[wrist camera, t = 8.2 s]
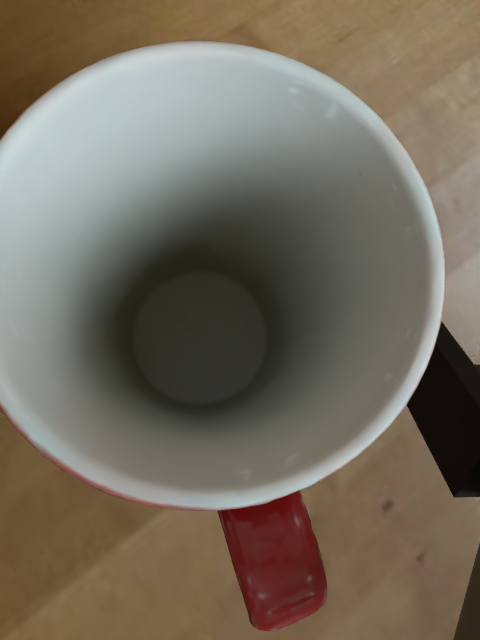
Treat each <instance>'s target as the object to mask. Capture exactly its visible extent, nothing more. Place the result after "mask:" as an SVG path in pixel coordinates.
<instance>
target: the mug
mask: <svg viewBox="0 0 480 640" xmlns="http://www.w3.org/2000/svg"><path fill="white" fill-rule="evenodd" d="M444 295H445V260H444V250H443V242H442V234H441V230H440V226H439V223H438V219H437V215H436V212H435V209H434V206H433V203H432V201H431V198H430V195H429V192H428V190H427V188H426V186H425V183H424V181H423V179H422V177H421V175H420V173H419V171H418V169H417V167H416V165H415V164H414V162H413V161H412V159H411V157H410V156H409V154H408V153H407V151H406V150H405V148H404V147H403V145H402V144H401V142H400V141H399V139H398V138H397V137H396V135H395V134H394V133H393V132H392V130H391V129H390V128H389V127H388V125H387V124H386V123H385V122H384V121H383V120H382V119H381V118H380V117H379V116H378V115H377V114H376V113H375V112H374V111H373V110H372V109H371V108H370V107H369V106H368V105H367V104H366V103H365V102H363V101H362V100H361V99H360V98H359V97H357V96H356V95H355V94H354V93H353V92H351V91H350V90H348V89H347V88H345V87H344V86H343V85H341V84H340V83H338V82H337V81H336V80H334V79H332V78H330V77H328V76H326V75H325V74H323V73H322V72H320V71H318V70H316V69H314V68H312V67H310V66H308V65H305V64H303V63H301V62H299V61H296V60H294V59H292V58H289V57H287V56H284V55H281V54H278V53H275V52H272V51H268V50H264V49H261V48H257V47H253V46H248V45H243V44H238V43H231V42H221V41H210V40H184V41H176V42H168V43H159V44H154V45H148V46H143V47H139V48H135V49H131V50H128V51H124V52H121V53H118V54H115V55H112V56H109V57H106V58H104V59H101V60H99V61H97V62H95V63H93V64H90V65H88V66H86V67H84V68H82V69H80V70H79V71H77V72H75V73H73V74H72V75H70V76H68V77H67V78H65V79H64V80H62V81H60V82H59V83H57V84H56V85H54V86H53V87H52V88H51V89H49V90H48V91H47V92H45V93H44V94H43V95H41V96H40V97H39V98H37V99H36V100H35V101H34V102H33V103H32V104H31V105H30V106H28V107H27V108H26V109H25V110H24V111H23V112H22V113H21V114H20V115H19V117H18V118H17V119H16V120H15V121H14V123H13V124H12V125H11V126H10V127H9V128H8V130H7V131H6V132H5V134H4V135H3V136H2V137H1V139H0V410H1V411H2V412H3V414H4V415H5V416H6V417H7V419H8V420H9V421H10V423H11V424H12V425H13V426H14V427H15V428H16V429H17V430H18V431H19V432H20V433H21V435H22V436H23V437H24V438H25V439H26V440H27V441H28V442H29V443H30V444H32V445H33V446H34V447H35V448H36V449H37V450H38V451H39V452H40V453H41V454H42V455H43V456H44V457H45V458H46V459H48V460H50V461H52V462H53V463H55V464H56V465H57V466H58V467H59V468H60V469H61V470H63V471H65V472H67V473H69V474H70V475H72V476H74V477H76V478H78V479H79V480H81V481H83V482H85V483H86V484H88V485H90V486H92V487H94V488H96V489H98V490H100V491H102V492H105V493H108V494H111V495H114V496H116V497H119V498H122V499H125V500H129V501H132V502H135V503H139V504H144V505H150V506H155V507H159V508H167V509H176V510H192V511H216V510H218V514H219V517H220V521H221V524H222V528H223V531H224V534H225V538H226V541H227V545H228V548H229V552H230V556H231V559H232V563H233V566H234V570H235V573H236V576H237V579H238V582H239V585H240V588H241V591H242V594H243V598H244V601H245V604H246V607H247V611H248V614H249V619H250V622H251V624H252V625H253V627H255V628H256V629H258V630H263V631H271V630H277V629H280V628H283V627H285V626H288V625H291V624H293V623H295V622H297V621H299V620H301V619H303V618H305V617H307V616H309V615H311V614H313V613H314V612H316V611H317V610H318V609H319V608H320V607H321V606H323V604H324V603H325V600H326V596H327V583H326V576H325V571H324V567H323V563H322V559H321V554H320V551H319V547H318V543H317V540H316V537H315V535H314V533H313V531H312V527H311V521H310V518H309V516H308V513H307V510H306V507H305V505H304V502H303V500H302V496H301V494H300V491H299V490H301V489H303V488H306V487H308V486H311V485H313V484H315V483H317V482H319V481H321V480H322V479H324V478H326V477H328V476H329V475H331V474H333V473H335V472H336V471H338V470H339V469H340V468H342V467H343V466H345V465H346V464H348V463H349V462H350V461H352V460H353V459H354V458H355V457H357V456H358V455H359V454H360V453H362V452H363V451H364V450H365V449H366V448H368V447H369V446H370V445H371V444H372V443H373V442H374V441H375V440H376V439H377V438H378V437H380V436H381V435H382V433H383V432H384V431H385V430H386V429H387V428H388V427H389V426H390V424H391V423H392V422H393V421H394V420H395V418H396V417H397V416H398V415H399V414H400V412H401V411H402V410H403V409H404V408H405V407H406V405H407V403H408V401H409V399H410V398H411V396H412V395H413V393H414V391H415V390H416V388H417V386H418V384H419V382H420V380H421V378H422V376H423V374H424V372H425V370H426V368H427V365H428V363H429V360H430V358H431V355H432V352H433V349H434V346H435V342H436V339H437V336H438V332H439V328H440V325H441V319H442V313H443V307H444Z"/></svg>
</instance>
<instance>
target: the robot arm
mask: <svg viewBox="0 0 480 640" xmlns="http://www.w3.org/2000/svg"><path fill="white" fill-rule="evenodd" d="M407 407H408V409H409V411H410V412H411V414H412V416H413V418H414V420H415V422H416V424H417V426H418V428H419V430H420V432H421V434H422V436H423V438H424V440H425V442H426V444H427V446H428V448H429V450H430V452H431V454H432V455H433V457H434V459H435V461H436V463H437V465H438V467H439V469H440V471H441V473H442V475H443V477H444V479H445V481H446V483H447V485H448V487H449V489H450V491H451V493H452V495H453V496H454V497H480V365H474V364H473V363H472V361H471V360H470V359H469V357H468V356H467V355H466V353H465V352H464V351H463V349H462V348H461V347H460V345H459V344H458V343H457V341H456V340H455V339H454V337H453V336H452V335H451V333H450V332H449V331H448V329H447V328H446V327H445V325H444V324H443V323H442V321H441V325H440V328H439V332H438V336H437V339H436V342H435V346H434V349H433V352H432V355H431V358H430V360H429V363H428V365H427V368H426V370H425V372H424V374H423V376H422V378H421V380H420V382H419V384H418V386H417V388H416V390H415V391H414V393H413V395H412V396H411V398H410V399H409V401H408V403H407ZM454 640H480V544H479V548H478V551H477V555H476V559H475V562H474V566H473V570H472V573H471V577H470V581H469V585H468V588H467V592H466V596H465V599H464V603H463V607H462V610H461V614H460V618H459V621H458V625H457V629H456V632H455V636H454Z"/></svg>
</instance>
